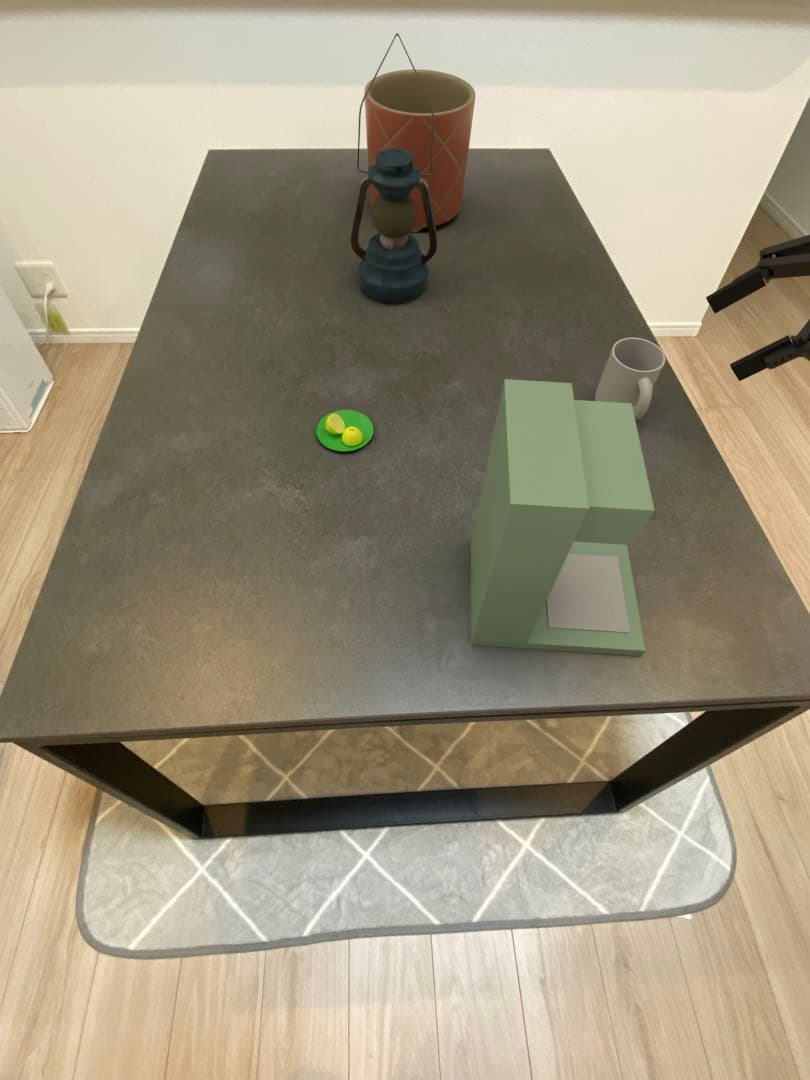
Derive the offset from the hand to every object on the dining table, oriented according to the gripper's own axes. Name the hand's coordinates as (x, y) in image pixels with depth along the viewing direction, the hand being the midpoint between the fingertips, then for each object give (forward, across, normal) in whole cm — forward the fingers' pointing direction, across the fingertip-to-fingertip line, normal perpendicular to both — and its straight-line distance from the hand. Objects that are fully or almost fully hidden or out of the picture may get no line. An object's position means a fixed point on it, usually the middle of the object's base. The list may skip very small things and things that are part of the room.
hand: (721, 337), depth 78 cm
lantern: (+41, +27, +22) cm, 54 cm away
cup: (+16, 0, -3) cm, 16 cm away
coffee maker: (+24, -33, +6) cm, 41 cm away
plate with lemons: (+44, -9, +25) cm, 51 cm away
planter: (+39, +53, +20) cm, 69 cm away
